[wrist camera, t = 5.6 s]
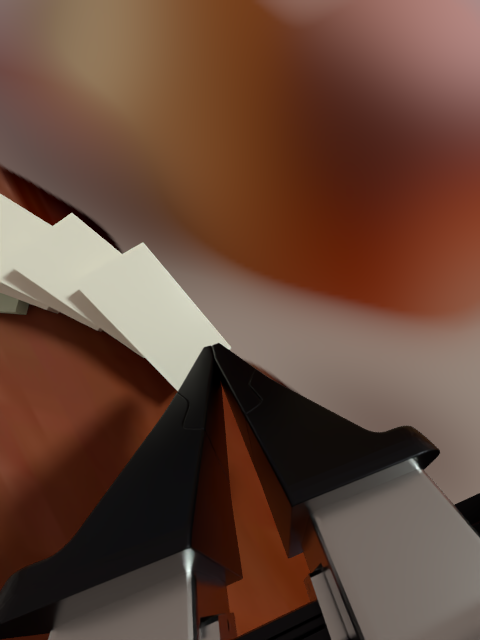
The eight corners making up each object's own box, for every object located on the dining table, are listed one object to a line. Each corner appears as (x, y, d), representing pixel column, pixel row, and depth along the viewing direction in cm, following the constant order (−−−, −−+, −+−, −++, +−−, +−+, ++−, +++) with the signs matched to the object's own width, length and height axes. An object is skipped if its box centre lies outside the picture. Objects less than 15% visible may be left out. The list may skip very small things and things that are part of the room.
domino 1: (136, 278, 17) (-5, 190, 14) (97, 330, 15) (-73, 245, 12) (137, 283, 18) (9, 205, 15) (101, 331, 17) (-49, 255, 14)
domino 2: (187, 307, 17) (71, 212, 14) (143, 358, 15) (3, 261, 12) (183, 310, 18) (78, 224, 15) (144, 356, 16) (17, 269, 14)
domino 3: (231, 347, 16) (142, 242, 14) (182, 396, 14) (72, 282, 12) (224, 347, 18) (143, 251, 16) (179, 391, 16) (80, 288, 14)
